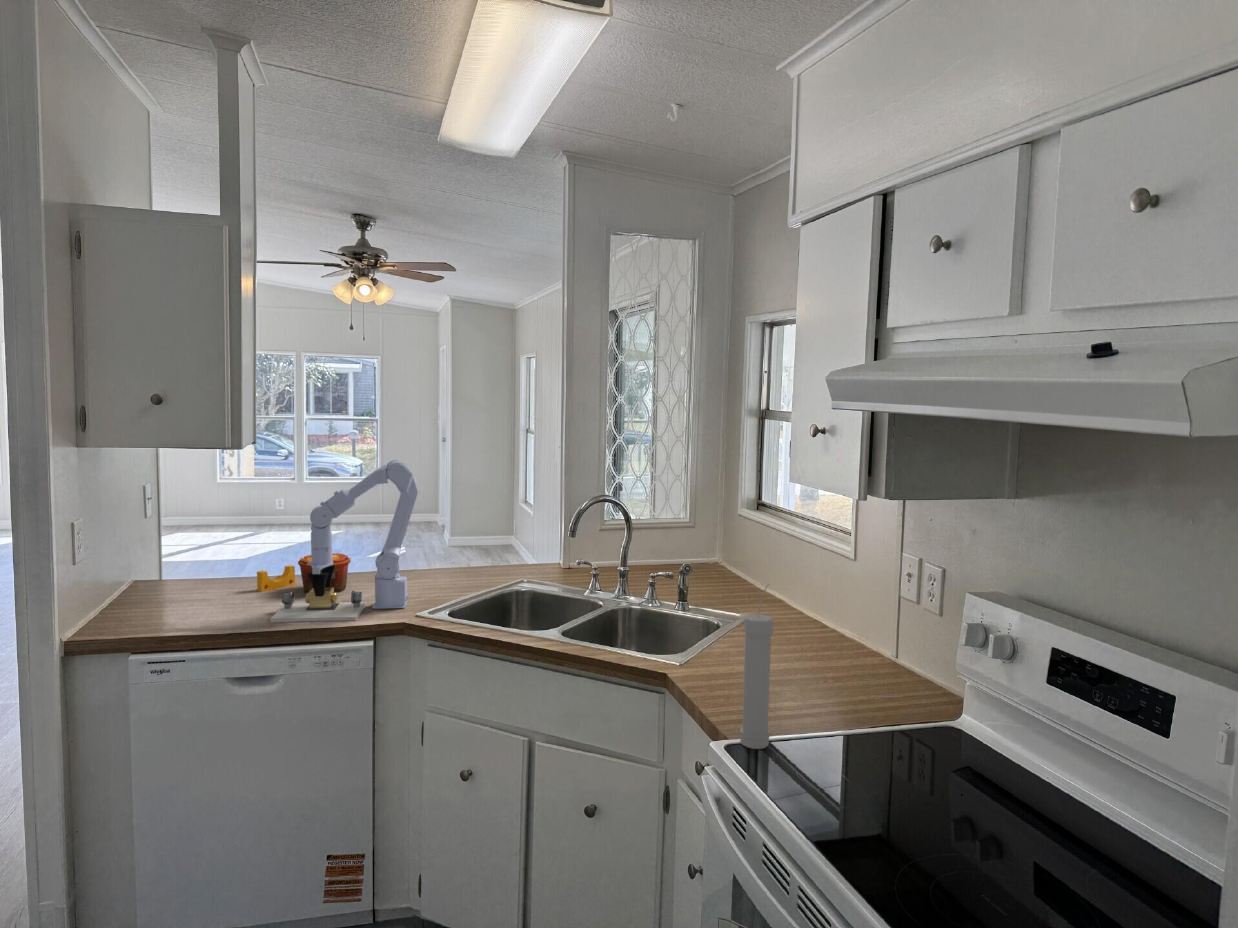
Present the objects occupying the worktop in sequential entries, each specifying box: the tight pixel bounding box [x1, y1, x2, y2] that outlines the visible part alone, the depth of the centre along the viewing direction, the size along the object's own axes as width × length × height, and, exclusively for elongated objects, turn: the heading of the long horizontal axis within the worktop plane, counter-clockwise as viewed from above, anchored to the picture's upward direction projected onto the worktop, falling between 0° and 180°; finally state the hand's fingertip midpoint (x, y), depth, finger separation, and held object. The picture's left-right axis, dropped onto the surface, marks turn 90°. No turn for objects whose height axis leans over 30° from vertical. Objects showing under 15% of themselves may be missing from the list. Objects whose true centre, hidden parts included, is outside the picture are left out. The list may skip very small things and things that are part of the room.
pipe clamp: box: [256, 564, 296, 593], centre depth 259 cm, size 12×4×6 cm, turn 147°
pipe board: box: [270, 590, 367, 623], centre depth 229 cm, size 23×16×6 cm
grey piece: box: [739, 583, 774, 750], centre depth 147 cm, size 6×6×30 cm
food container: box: [297, 552, 351, 594], centre depth 256 cm, size 16×16×11 cm
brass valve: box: [305, 588, 339, 608], centre depth 232 cm, size 8×4×5 cm, turn 98°
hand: (322, 592), depth 232 cm, fingers open, 7 cm apart
